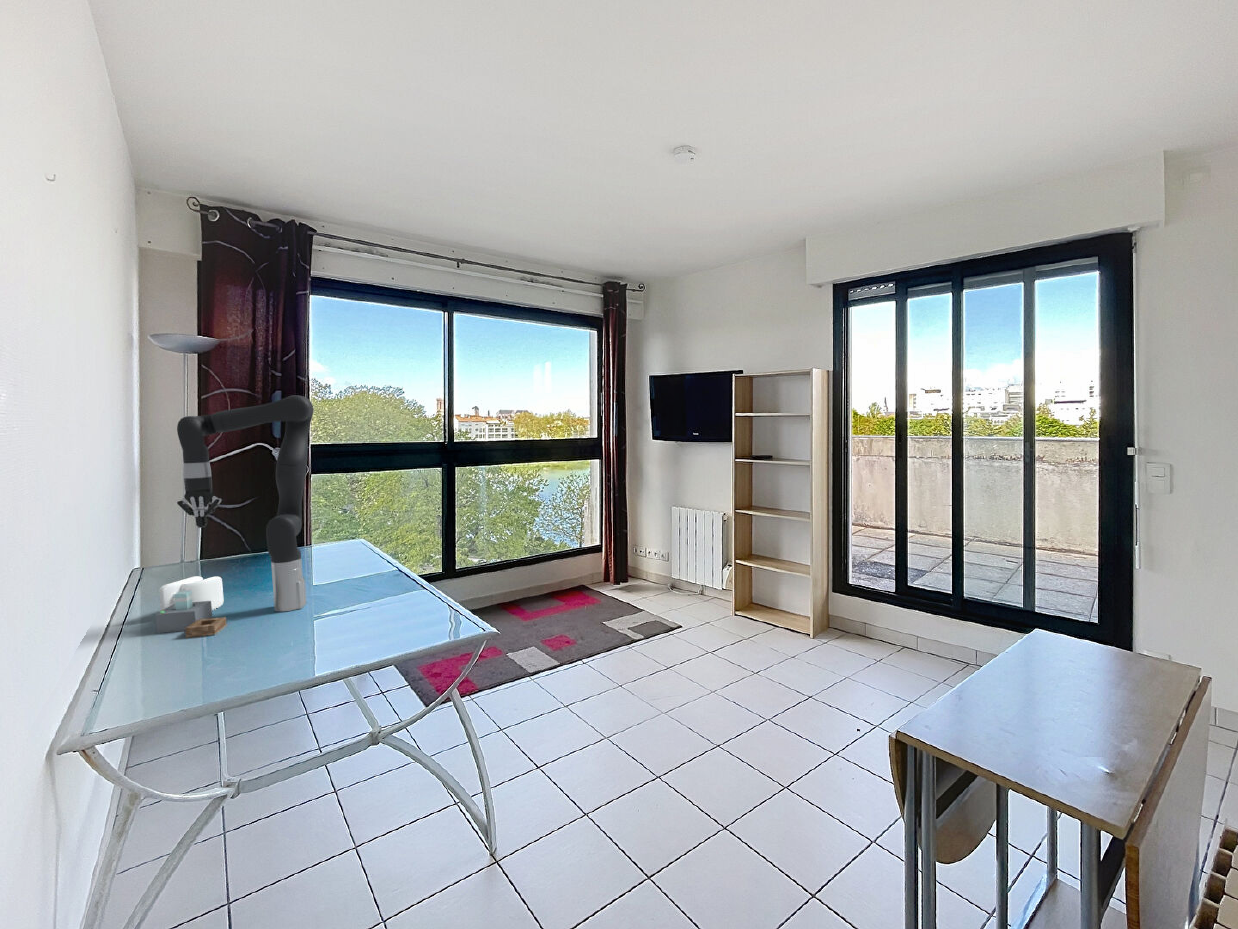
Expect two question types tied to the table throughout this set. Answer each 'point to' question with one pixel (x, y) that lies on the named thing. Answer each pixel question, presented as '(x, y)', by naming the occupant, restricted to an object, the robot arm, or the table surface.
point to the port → (182, 616)
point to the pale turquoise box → (183, 600)
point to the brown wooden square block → (205, 627)
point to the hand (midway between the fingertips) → (202, 527)
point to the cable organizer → (194, 591)
